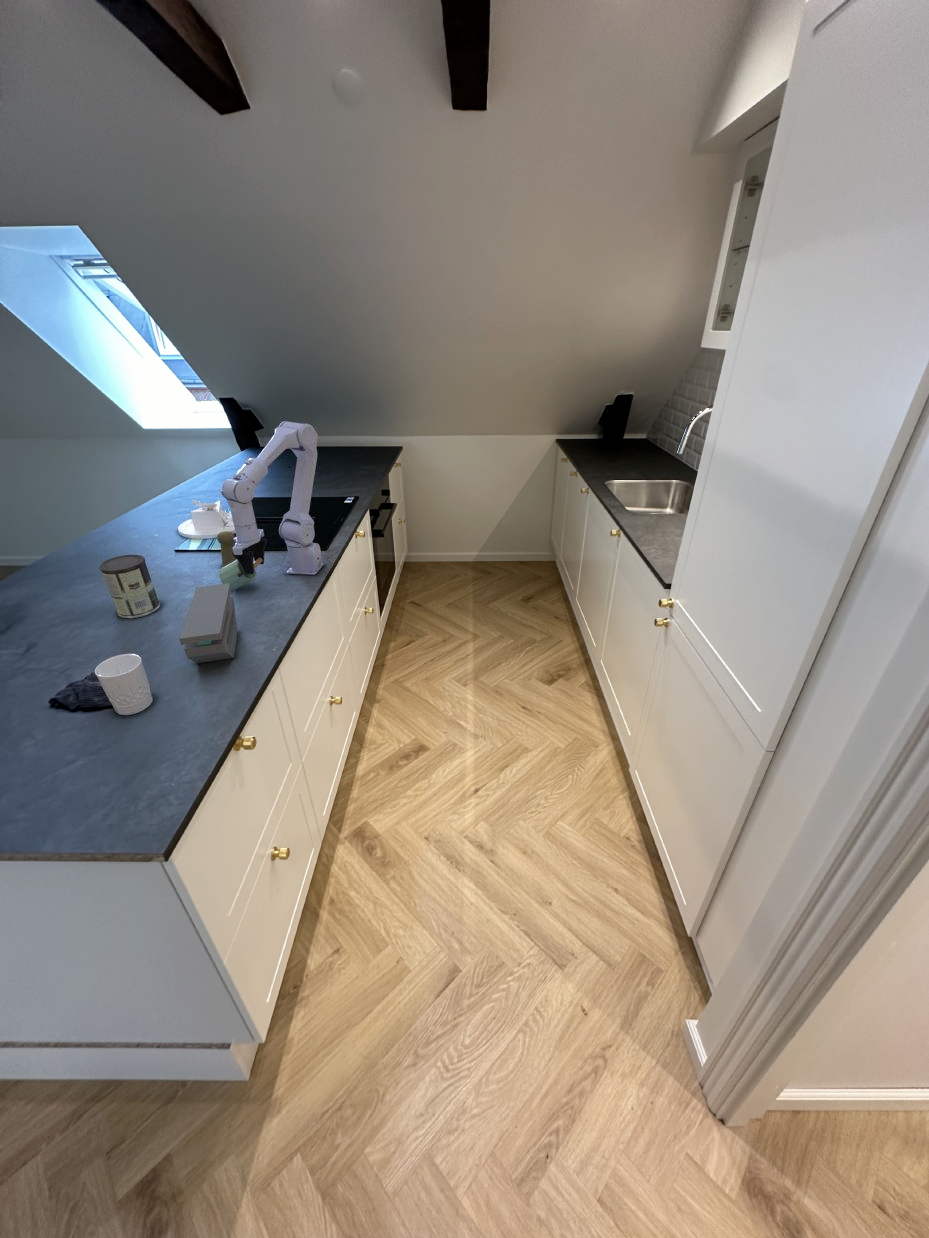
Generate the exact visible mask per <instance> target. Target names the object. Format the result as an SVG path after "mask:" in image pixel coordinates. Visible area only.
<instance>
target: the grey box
mask: <svg viewBox="0 0 929 1238" xmlns="http://www.w3.org/2000/svg"><path fill="white" fill-rule="evenodd" d="M231 593H232V590H231V585H230V583H229V584H223V583H221V584H213V585H204V586H196V587H195V590H194V593H193V596H192V599H191V602H190V604H189V608H188V611H187V614H186V617H185V619H184V623H183V626H182V628H181V633H180V636H179V639H178V640H179V643H180V645H181V646H184V652H185V655H186V658H188V659H189V660H191V661H193V662H194V663H196V664H202V663H208V662H216V661H222V660H223V661H224V660H229V659H234V658H235V652H236V645H237V638H238V625H237V616H236V606H235V601H234V597H233V596H231Z"/></svg>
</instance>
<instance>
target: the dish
mask: <svg viewBox="0 0 929 1238" xmlns="http://www.w3.org/2000/svg"><path fill="white" fill-rule="evenodd" d="M191 502H192V503H193V504H194V505H195V506H197V507H198V508H196V509H193V510H191V511H189V514H190V519H187V520H186V521H183V522H182V523H180V524H179V525H178V526H177V531H178V533H179V535H180V536H181V537H183V538H186V539H187V538H188V539H193V540H208V539H209V540H210V539H217V535H218V534H219V533H221V532H225V531H229V532H232V533H233V534H234V535H235V534H236V532H235V528H234V524H233V519H232V515H231V512H228V511H226V510H223V506H222V502H221V500H218V501H215V502H205V503H202V502H201V501H199V500H196V499H193V500H192V501H191Z"/></svg>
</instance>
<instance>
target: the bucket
mask: <svg viewBox="0 0 929 1238" xmlns="http://www.w3.org/2000/svg"><path fill="white" fill-rule="evenodd" d="M262 561H263V560H262V558H258V559H257V560H256V561H255V560H254V561H253V565H254V573H253V574H246V573H245V571H244V569H243V567H242V565H241V564H240V562H239V561H238V560H236V561H234V562H232V563H230V564H228V565H227V566H225V567H223V566H222V568H221V569H219V572H218V576H219V579H220V582H221V584H229V583H230V585H231V591H235V590H237V589H240V588H241V587H243V586H245V585H247V584H249V583H250V582H252V581H254V580H255V579H256V578H257V569H256V568H257V567H258V566H259V565H261V564H260V563H261V562H262Z"/></svg>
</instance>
